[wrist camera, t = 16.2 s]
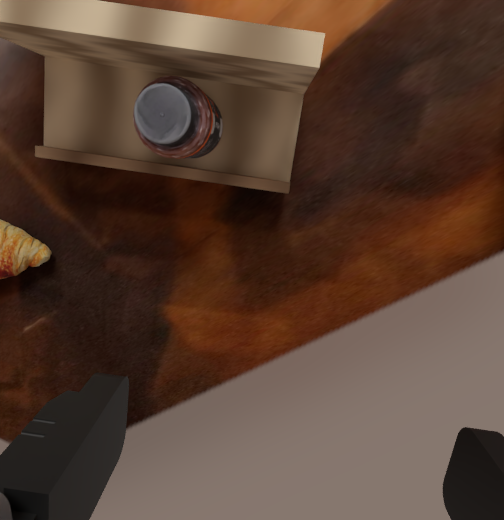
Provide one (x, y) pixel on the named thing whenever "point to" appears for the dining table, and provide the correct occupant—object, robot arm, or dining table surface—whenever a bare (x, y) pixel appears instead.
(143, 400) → the dining table surface
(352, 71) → the dining table surface
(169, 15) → the board
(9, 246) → the croissant
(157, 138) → the supplement bottle
